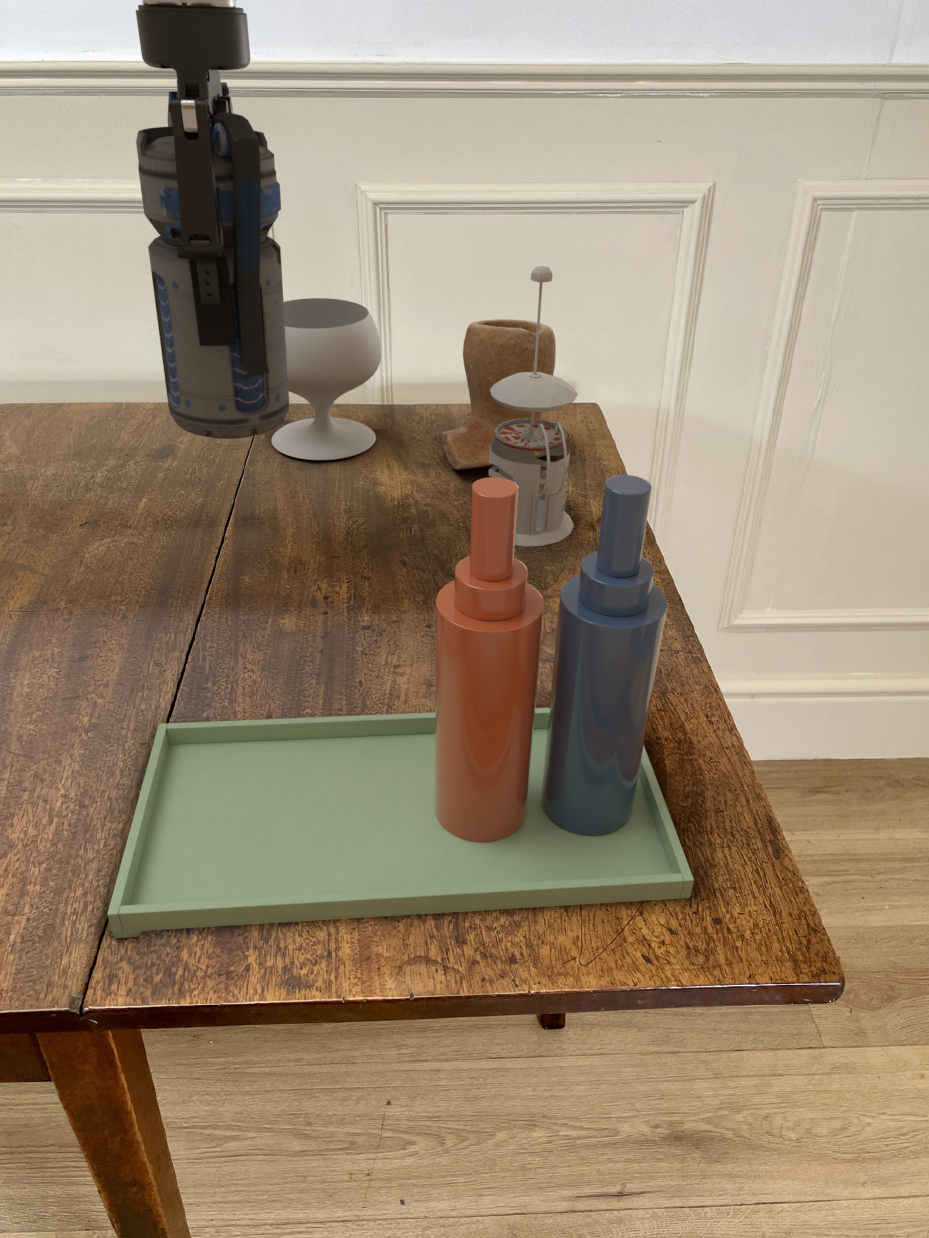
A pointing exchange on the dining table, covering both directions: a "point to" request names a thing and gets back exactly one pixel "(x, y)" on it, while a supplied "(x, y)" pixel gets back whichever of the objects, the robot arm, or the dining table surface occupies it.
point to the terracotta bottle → (486, 676)
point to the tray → (356, 832)
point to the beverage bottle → (250, 201)
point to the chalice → (327, 375)
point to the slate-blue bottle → (604, 671)
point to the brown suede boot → (486, 362)
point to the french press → (534, 447)
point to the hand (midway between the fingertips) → (225, 323)
